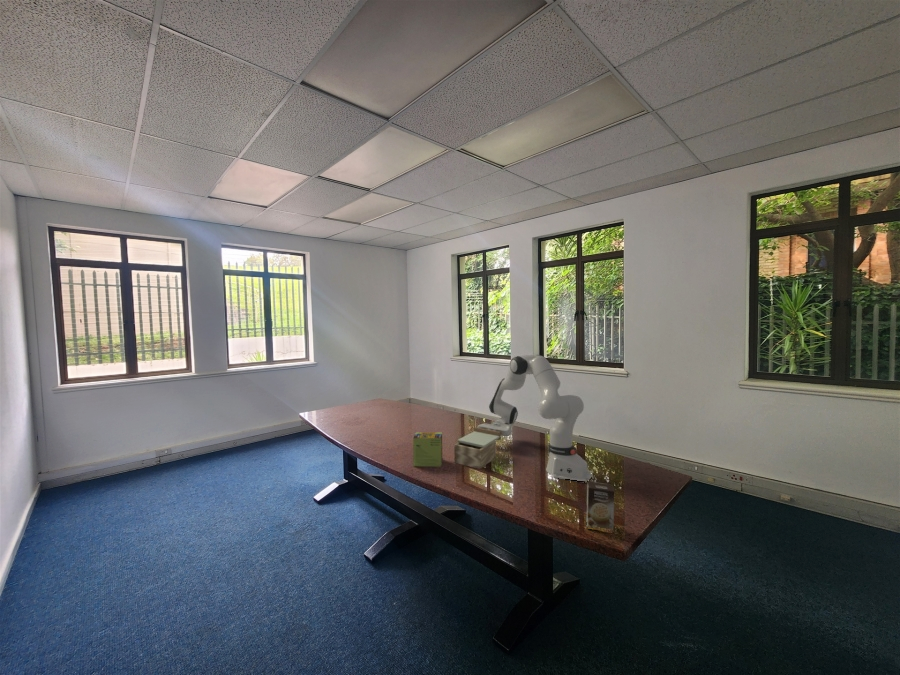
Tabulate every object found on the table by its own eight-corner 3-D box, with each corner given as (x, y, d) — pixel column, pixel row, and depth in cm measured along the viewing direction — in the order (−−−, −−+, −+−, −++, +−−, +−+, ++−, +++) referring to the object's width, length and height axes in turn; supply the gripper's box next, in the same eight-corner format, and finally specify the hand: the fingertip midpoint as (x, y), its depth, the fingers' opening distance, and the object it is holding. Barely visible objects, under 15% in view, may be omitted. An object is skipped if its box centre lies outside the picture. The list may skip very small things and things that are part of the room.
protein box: (441, 466, 191) (441, 438, 190) (412, 466, 191) (412, 437, 190) (442, 459, 201) (442, 431, 200) (415, 459, 202) (415, 431, 201)
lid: (500, 439, 207) (500, 431, 207) (483, 450, 190) (483, 441, 190) (475, 434, 216) (475, 427, 216) (457, 444, 199) (457, 436, 199)
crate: (495, 458, 202) (495, 440, 202) (480, 469, 187) (480, 450, 187) (471, 452, 211) (471, 435, 211) (454, 462, 196) (454, 444, 196)
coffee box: (586, 530, 133) (587, 487, 132) (586, 520, 139) (586, 480, 138) (613, 534, 130) (614, 491, 129) (612, 525, 136) (612, 483, 135)
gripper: (483, 419, 228) (473, 425, 217) (513, 424, 217) (503, 430, 206) (483, 429, 229) (473, 435, 217) (513, 435, 217) (503, 441, 206)
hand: (488, 433), depth 211 cm, fingers closed, pressing on lid
